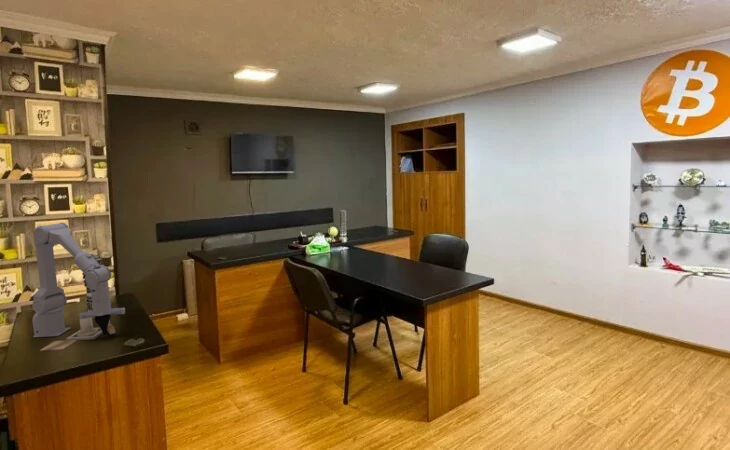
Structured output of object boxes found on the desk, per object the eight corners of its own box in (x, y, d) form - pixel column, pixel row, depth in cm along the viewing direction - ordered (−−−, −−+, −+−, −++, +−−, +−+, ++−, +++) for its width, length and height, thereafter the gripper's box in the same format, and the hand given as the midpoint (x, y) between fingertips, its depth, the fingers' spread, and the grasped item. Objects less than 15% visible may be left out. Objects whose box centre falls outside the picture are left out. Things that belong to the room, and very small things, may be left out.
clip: (108, 334, 159) (107, 328, 159) (100, 323, 171) (100, 318, 171) (117, 332, 161) (116, 326, 161) (109, 322, 173) (108, 316, 173)
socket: (66, 340, 159) (66, 338, 159) (82, 330, 169) (81, 328, 169) (93, 338, 160) (93, 336, 160) (108, 329, 170) (107, 327, 170)
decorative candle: (115, 307, 198) (108, 254, 194) (95, 313, 189) (88, 258, 186) (102, 305, 201) (95, 253, 198) (82, 311, 193) (75, 257, 190)
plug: (73, 338, 161) (70, 320, 160) (84, 331, 168) (81, 314, 167) (92, 337, 161) (89, 319, 160) (101, 330, 168) (99, 313, 167)
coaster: (40, 351, 150) (39, 350, 150) (54, 342, 158) (54, 341, 158) (63, 350, 151) (63, 348, 151) (77, 340, 159) (77, 339, 158)
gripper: (75, 305, 153) (79, 341, 154) (120, 300, 157) (124, 335, 159) (81, 299, 159) (85, 334, 161) (124, 294, 164) (128, 328, 165)
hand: (105, 334), depth 160 cm, fingers closed
